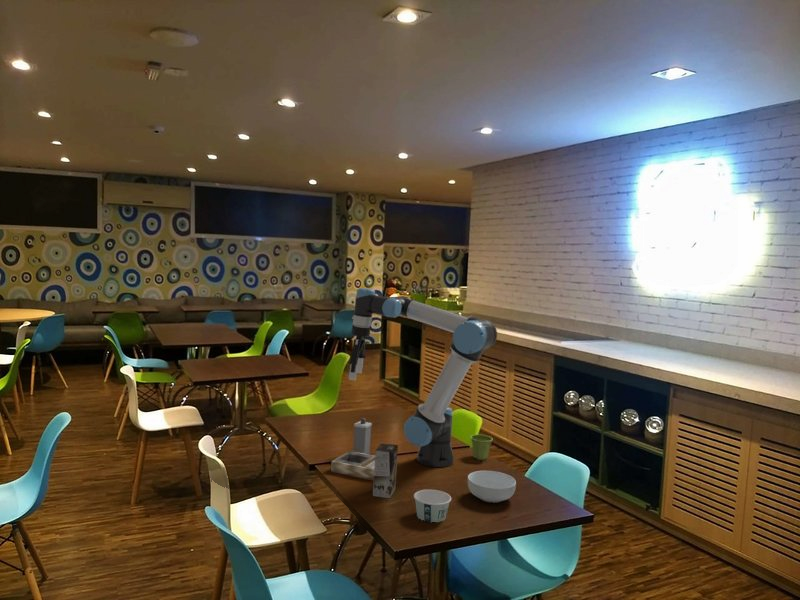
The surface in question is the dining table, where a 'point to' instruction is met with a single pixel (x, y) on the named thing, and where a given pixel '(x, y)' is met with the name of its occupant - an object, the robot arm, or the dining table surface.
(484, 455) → the plant pot
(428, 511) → the food container
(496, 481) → the cereal bowl
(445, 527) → the dining table surface
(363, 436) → the grey pepper mill
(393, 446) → the coffee box
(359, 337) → the robot arm
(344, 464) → the tray
